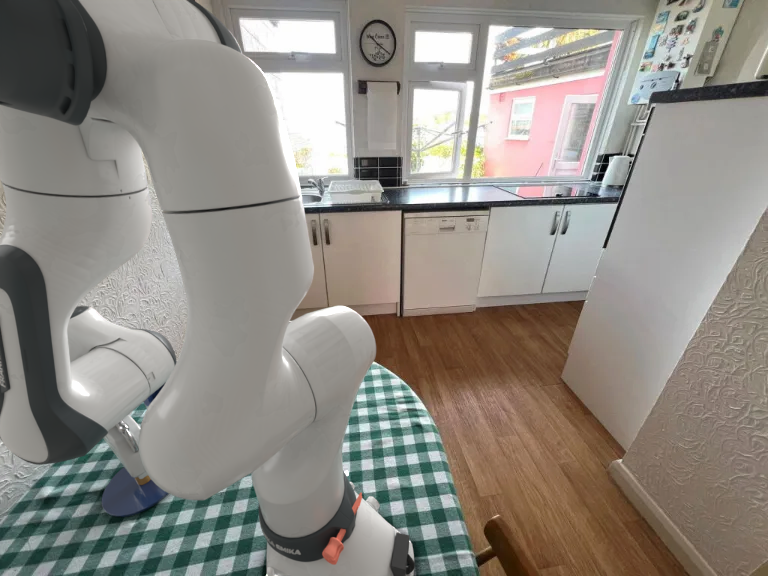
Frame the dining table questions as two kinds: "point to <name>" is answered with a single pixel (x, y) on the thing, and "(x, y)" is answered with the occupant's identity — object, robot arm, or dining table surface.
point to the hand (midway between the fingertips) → (133, 459)
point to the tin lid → (130, 495)
